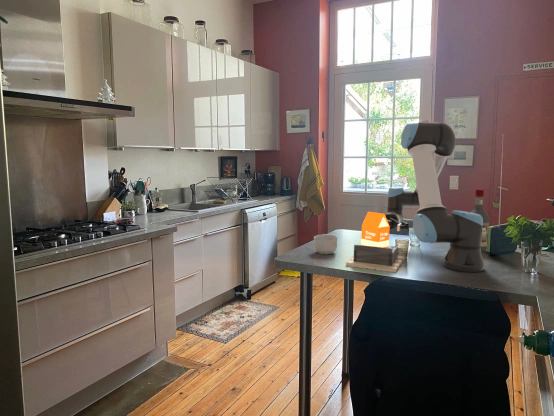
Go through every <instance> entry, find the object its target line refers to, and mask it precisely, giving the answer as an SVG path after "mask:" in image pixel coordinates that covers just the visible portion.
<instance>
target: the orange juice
mask: <svg viewBox="0 0 554 416" xmlns="http://www.w3.org/2000/svg"><path fill="white" fill-rule="evenodd" d="M385 215H386V214H385V213H379V212H372V211H367V214H366V215H365V217H364V220H363V222H362V224H361V237H360V245H365V246H374V247H383V248H390V247H389V246H390V230H391V229H390V226H389V224H388V222H387V219H386V217H385Z"/></svg>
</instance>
